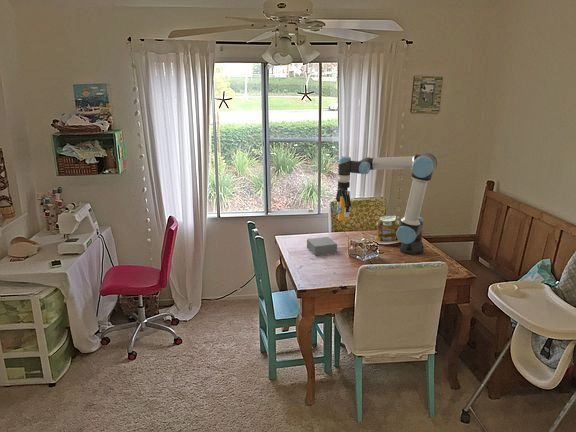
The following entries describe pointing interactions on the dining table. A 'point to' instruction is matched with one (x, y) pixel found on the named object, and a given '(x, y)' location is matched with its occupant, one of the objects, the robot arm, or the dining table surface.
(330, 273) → the dining table surface
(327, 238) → the plinth
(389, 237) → the glass jar
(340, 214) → the orange blue tower
